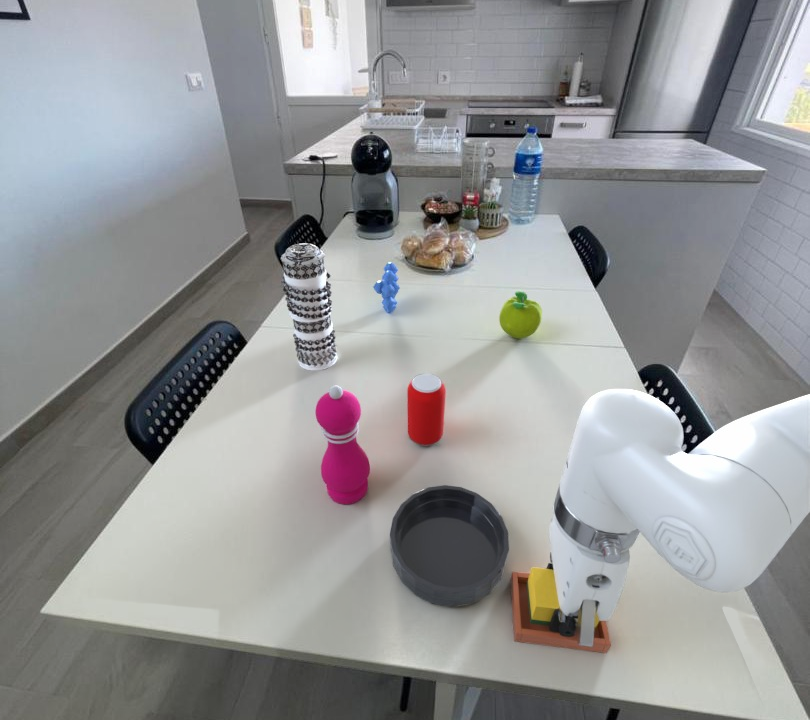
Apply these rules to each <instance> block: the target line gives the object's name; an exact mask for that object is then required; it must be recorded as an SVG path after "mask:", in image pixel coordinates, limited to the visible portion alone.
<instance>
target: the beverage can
mask: <svg viewBox="0 0 810 720" xmlns="http://www.w3.org/2000/svg"><path fill="white" fill-rule="evenodd" d="M446 390H447V389H446V387H445V384H444V382H443V381H442V380H441V378H440V377H439V376H437V375H435V374H432V373H421V374H420V373H419V374H417V375H415V376H414V377H413V378H412V379H411V380H410V382H409V383H408V386H407V389H406V391H407V393H406V395H407V396H406V397H407V399H406V400H407V408H406V409H407V434H408V435H407V436H408V437H409V439H410V440H411V442H413V443H414V444H416V445H419V446H423V447H429V446H433V445H436V444H437V443H438V442H440V441H441V439H442V437H443V436H444V423H445V410H446V409H445V408H446V393H447V392H446Z"/></svg>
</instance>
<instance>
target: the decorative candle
mask: <svg viewBox="0 0 810 720" xmlns="http://www.w3.org/2000/svg"><path fill="white" fill-rule="evenodd" d="M325 257H326V253H325V252H324V251H323V250H322V249H320V248H319V247H318V246H316V245H315V244H313V243H304V242H303V243H297V244H293V245H290V246H289V247H288V248H286V249H285V252H284V253H283V254H282V255H281V257H280V260H281V262H282V268H283V271H284V272H283V275H282V277H281V279H282V280H281V282H280V283H281V285H283V288H282V290H283V292H284V295H285V298H284V299H285V301H286V307H287V310H288V311H289V316H290V318H291V319H292V321H293V328H292V329H293V334H292V337H293V339H294V341H293V342H294V344H295V348H294V349H295V352H296V358H297V363H298V365H299V366H300V367H301V368H302V369H304V370H308V371H313V372H314V371H315V372H316V371H323V370H326V369H329V368H331V367H332V366H333V365H335V364H336V362H337V361H338V354H337V352H338V350H337V343H336V340H335V339H336V336H335V333H336V330H335V328H334V327H333V321H332V319H331V313H332V311H333V307H332V304H333V300H332V299H331V298H330V297H331V296H332V290H331V286H332V284H331V283H330V282H329V281H328V279H331V274H330V273H329V272H328V271H327V268H326V267H325V260H324V258H325ZM326 279H327V280H326Z"/></svg>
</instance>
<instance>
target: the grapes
mask: <svg viewBox="0 0 810 720" xmlns="http://www.w3.org/2000/svg"><path fill="white" fill-rule="evenodd" d="M382 270H384V273H383V275H382V276H381V279H382V280H378V281H376V282H375V283H374V285H373V286H372V287H373V289H374V291H375V293H377V294H379V295H381V298H382V299H383V300H382V301H381V304H382V309H383V310H384V311H385V312H386V314H389V315H391V314H392V313H393V312H394V311H395V310H396V309H397V304H398V301H397V300H396V296H397V294H398V293H399V290H400V289H401V287H400V285H399V284H398V283H397V282H398V281H399V277H398V275H397V273H398V271H399V269H398V267H397V265H396V264H395V263H394V262H392V261H389V262H387V263H386V264H385V266H384V267H383V269H382Z"/></svg>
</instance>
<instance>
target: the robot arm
mask: <svg viewBox="0 0 810 720" xmlns="http://www.w3.org/2000/svg"><path fill="white" fill-rule="evenodd" d="M684 438H685V436H684V428H683V425H682V423H681V421H680V419H679V417H678V415H677V414H676V413H675V412H674V411H673V410H672V409H671V407H669V406H668V405H666V403H664V402H663V401H661V400H659V399H658V398H656V397H654V396H653V395H650V394H647V393H645V392H642V391H639V390H634V389H630V388H629V389H628V388H610V389H604V390H601V391H599V392H597V393H595V394H593V395H591V397H589V398H588V400H586V402H585V403H584V405H583V406H582V408H581V410H580V412H579V416H578V419H577V422H576V426H575V429H574V433H573V436H572V440H571V443H570V446H569V450H568V453H567V457H566V460H565V464H564V466H563V471H562V473H561V478H560V481H559V484H558V488H557V490H556V491H557V492H556V495H555V498H554V501H553V505H552V517H551V520H550V524H549V529H548V530H549V531H548V537H549V538H548V539H549V547H550V552H549V562H548V563H547V566H546V569H552V570H554V576H555V582H556V589H557V595H558V601H559V605H560V606H559V608H558V609H555V610H554V613H553V616H552V618H551V621H550V624H549V629H550V631H551V632H558V633H560V635H561V636H564V637H573V636H575V638H576V640H577V642H578V644H579V645H581V646H589V647H593V640H594V624H595V609H596V613H597V616H598V619H599V621H606V622H609V620H611V618H612V617H613V615H614V612H615V610H616V608H617V606H618V604H619V601H620V598H621V596H622V594H623V590H624V588H625V584H626V581H627V575H628V571H629V567H630V558H631V556H630V555H631V554H630V549H631V548H632V547H633V545H634V544H635V543H636V541H637V539H638V537H639V534H641V535H642V537H644V539H645V540H646V541H647V543H649V545H650V546H651V547H652V548H653V549H654V550H655V552H656V553H657V554H658V555H659V556H660V557H661V558H662V559H663V560H664V561H665V562H666V563H667V564H668V565H669V566H670V567H671V568H672V569H674V570H675V571H676V572H677V573H678V574H680V575H681V576H682V577H684V578H685V579H687V580H688V581H689V582H691V583H693V584H695V585H697V586H699V587H700V588H703V589H705V590H707V591H713V592H717V593H733V592H738V591H741V590H744V589H745V588H747V587H749V586H750V585H751V584H752V583H754V582H755V581H756V580H757V579H759V577H760V576H761V575H762V574H763V573H764V571H765V570H766V569H767V568H768V567H769V565H770V564H771V563H772V561H773V560H774V558H775V557H776V556H777V555H778V553H779V552H780V551H781V549H782V548H783V547H784V546H785V544H786V543H787V542H788V541H789V540H788V539H790V537H792V535H793V534H794V532H795V531H796V530H797V529H798V527H799V526H800V525H801V523H802V522H803V521H804V520H805V518H806V517H807V516H808V515H809V514H810V393H808V394H805V395H802V396H799V397H797V398H794V399H793V398H792V399H791V400H788V401H785V402H782V403H779V404H776V405H773V406H769V407H767V408H764V409H761V410H758V411H756V412H753V413H750V414H747V415H745V416H741V417H740V418H738V419H735V420H733V421H731V422H729V423H727V424H725V425H723V426H721V427H720V428H719V429H717V430H715V431H714V432H713V433H712V434H711V435H709V436H708V437H707V438H705V439H704V440H703V441H702V442H700V443H699V444H698V445H697V446H695V447H694V448H693V449H692V450H691V451H689V452H688V453H686V452H685V451H683V448H682V447H683V444H684ZM596 607H597V608H596Z"/></svg>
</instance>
